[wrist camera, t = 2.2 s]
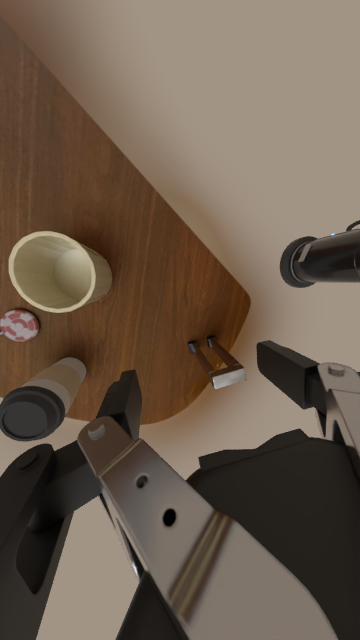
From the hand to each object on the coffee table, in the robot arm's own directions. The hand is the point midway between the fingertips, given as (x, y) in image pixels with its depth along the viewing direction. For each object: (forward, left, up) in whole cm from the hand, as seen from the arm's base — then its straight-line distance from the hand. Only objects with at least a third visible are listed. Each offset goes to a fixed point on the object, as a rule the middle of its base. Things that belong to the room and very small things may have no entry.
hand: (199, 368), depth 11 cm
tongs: (0, +13, -29) cm, 32 cm away
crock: (+8, -16, -29) cm, 34 cm away
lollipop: (+28, -19, -29) cm, 45 cm away
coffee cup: (+26, -4, -29) cm, 39 cm away
